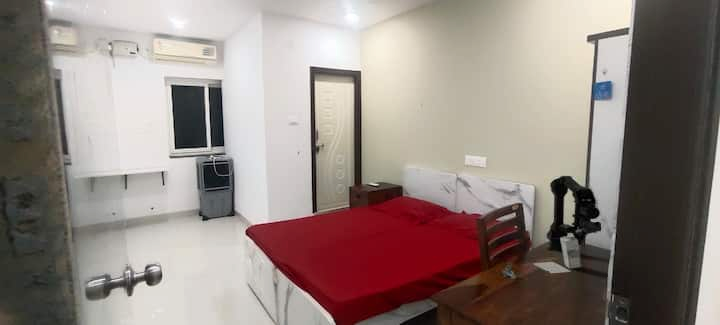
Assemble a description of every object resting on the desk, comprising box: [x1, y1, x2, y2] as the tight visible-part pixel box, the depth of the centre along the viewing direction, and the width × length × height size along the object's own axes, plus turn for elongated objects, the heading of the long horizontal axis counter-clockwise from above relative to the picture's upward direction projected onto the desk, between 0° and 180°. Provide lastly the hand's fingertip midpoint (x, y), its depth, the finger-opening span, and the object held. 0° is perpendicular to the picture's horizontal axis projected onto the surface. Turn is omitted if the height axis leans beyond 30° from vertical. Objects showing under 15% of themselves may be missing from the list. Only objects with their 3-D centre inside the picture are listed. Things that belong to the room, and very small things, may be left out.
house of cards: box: [501, 262, 517, 280], centre depth 161 cm, size 9×9×8 cm
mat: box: [533, 261, 572, 274], centre depth 172 cm, size 12×11×1 cm
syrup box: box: [560, 235, 583, 270], centre depth 173 cm, size 6×6×14 cm
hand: (579, 245), depth 173 cm, fingers closed
